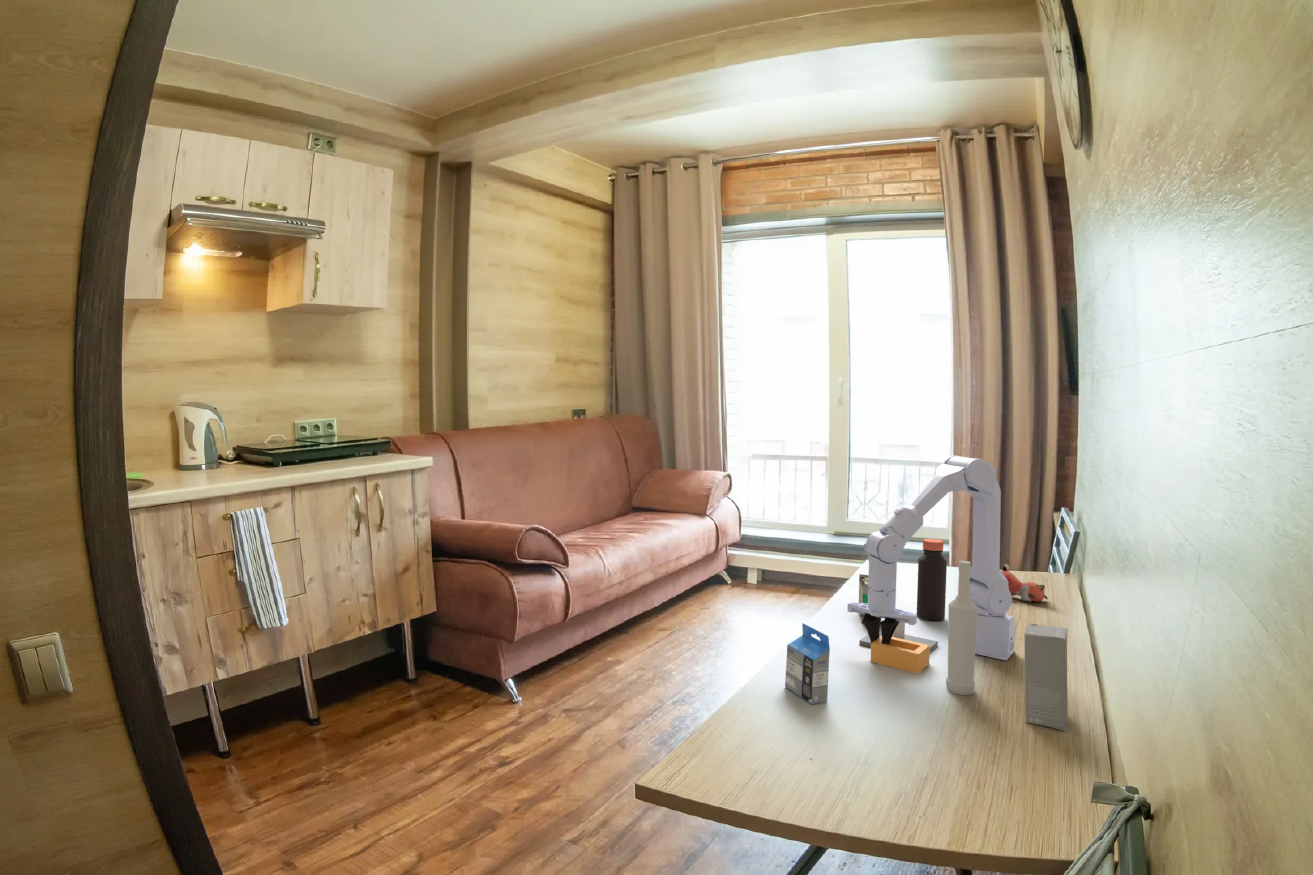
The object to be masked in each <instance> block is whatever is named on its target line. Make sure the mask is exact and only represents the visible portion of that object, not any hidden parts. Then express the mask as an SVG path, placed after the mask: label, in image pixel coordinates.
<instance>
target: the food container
mask: <svg viewBox="0 0 1313 875" xmlns="http://www.w3.org/2000/svg"><path fill="white" fill-rule="evenodd" d="M858 575H859V577H858V603H868V578H869V574H861V573H860V574H858ZM858 615H859V618H860V623H861V625H864V623H863V620H862V619H863V618H864V616H865V614H861V613H858Z"/></svg>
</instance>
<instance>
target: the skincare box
mask: <svg viewBox="0 0 1313 875" xmlns="http://www.w3.org/2000/svg"><path fill="white" fill-rule="evenodd" d="M1024 629H1025V632H1024V702H1025V703H1024V704H1025V705H1024V706H1025V709H1024V710H1025V713H1024V714H1025V722H1026V723H1030V724H1034V725H1040V726H1044V727H1048V728H1052V729H1056V730H1061V731H1064V732H1066V731H1067V729H1068V722H1069V709H1068V708H1069V707H1068V706H1069V704H1068V703H1069V702H1068V699H1069V697H1068V628H1067V627H1059V626H1052V625H1045V624H1035V623H1028V624H1027V627H1026V626H1025V628H1024Z"/></svg>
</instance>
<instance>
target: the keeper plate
mask: <svg viewBox="0 0 1313 875" xmlns="http://www.w3.org/2000/svg"><path fill="white" fill-rule="evenodd" d="M905 624H906V623H904V622H899V624H898V626H897V627H896V629H895V631H894V633H893V635H892V637H895V638H900V639H904V640H909V641H913V642H918V643H922V644H927V645H930V652H929V654H930V653H931V652H932V651H933V650H935V649H936V648H937V647H938V646H939V644H938V643H939V641H938V640H933V639H927V638H924V637H919V636H914V635H910V634H905V630H906V629H905V628H906V625H905ZM881 636H882V632H881V628H880V631H879V638H880V637H881ZM859 645H860V646H862V647H863V646H864V647H867V648H871V641H870V637H869V634H867V635H865V636H864V637H863V638H860V639H859Z"/></svg>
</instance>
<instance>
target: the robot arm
mask: <svg viewBox="0 0 1313 875" xmlns="http://www.w3.org/2000/svg"><path fill="white" fill-rule="evenodd" d="M996 472H997V470H996V467H995V466H994V465H993V464H992V463H991V462H989V461H987V460H986V459H983V458H974V457H966V456H961V455H957V454H955V455H951V456H948V457H947V458H946V459H945V460H944V461H943V463H941V464H940V465H939V466H938V467H937V469H936V473H935V475H934V476H933V477H932V478H931V480H930V481H929V482H928V483H927V485H926V486H925V487H924V488H923V489H922V491H921V492H920V493H919V494H918V496H917V497H916V498H915V500H913V502H911V504H910V505H907V506H906V505H905V506H901V507H899V508H896V509H895V510H894V511H893V513H894V514H893V515H892V516H891V517H890V519H889V520H888V521H887V522H886V523H885V524H884V525H881V526H880V527H879V531H875V532H872V533H871V534H870V535H868V537H867V538H866V542H865V543H864V544H863V548H864V551H865V553H866V554H867V555H868V557H867V558H868V575H869V578H868V603H859V601H858V602H857V601H849V602H848V603H847V612H848V613H851V614H852V613H856V614H859V613H861V614H865V616H864V618H863V619H862V620H863V623H864V624H863V625H864V627H865V629H866V631H867V635H869V637H870V641H871V643H872V642H874V641H875V640H877V639H878V638H879V631H880V629H881V632H882V644H886V645H889V644H890V641H891V638H892V635H893V633H894V631H895V629H896V627H897V626H898V624H899V622H904V623H905V624H908V625H909V626H914V625H916V624H918V620H917V618H918V616H917V613H913V612H909V611H905V610H903V609H900V608H897V607H896V606H897V605H896V602H897V601H896V600H897V570H898V567H897V566H898V560H899V559H901V558H902V557H903V554H904V548H905V546H906V544H907V542H909V540H910V539H911V538H912V537H914V535H916V533H917V532H918V531H919V529H921V527H923V525H924V516H926V514H927V513H928V512H929V511H930V510H932V509H933V508H934V507H935V506H936V505H937V504H938V503H939V502H940V501H941V500H943V498H944V497H945V496H946V495H948V493H950V492H956V491H965V492H966V493H967V494H968V495H970V496H971V497H972V499H973V503H972V558H971V559H972V564H971V565H972V566H971V567H970V587H969V597H971V601H972V602H973V603H974V604H975V605H976V606H977V607H978V615H977V632H976V648H975V655H978V656H984V657H987V658H988V657H989V658H993V659H997V660H1001V661H1008V660H1009V659H1010V658H1011V656H1012V655H1013V654H1014V652H1015V651H1016V650H1015V640H1016V638H1015V636H1016V619H1015V617H1014V616H1011V615H1008V614H1006V613H1007V612H1009V610H1010V608H1011V606H1012V602H1013V597H1012V596H1011V593H1010V591H1009V588H1008V580H1007V579H1006V578H1005V576H1004V575H1003V574H1002V570H1000V562H1001V560H1000V558H1001V556H1000V555H1001V508H1002V507H1001V506H1002V504H1001V502H1002V501H1001V500H1002V491H1001V486H1000V485H999V482H998V480H997V477H996ZM882 619H883V620H882Z"/></svg>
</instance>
